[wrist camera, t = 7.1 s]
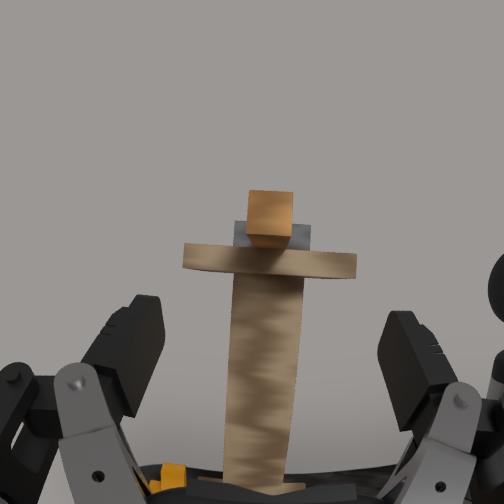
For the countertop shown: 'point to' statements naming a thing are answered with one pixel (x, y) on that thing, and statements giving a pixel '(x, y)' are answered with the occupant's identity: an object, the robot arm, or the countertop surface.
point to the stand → (263, 352)
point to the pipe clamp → (170, 477)
